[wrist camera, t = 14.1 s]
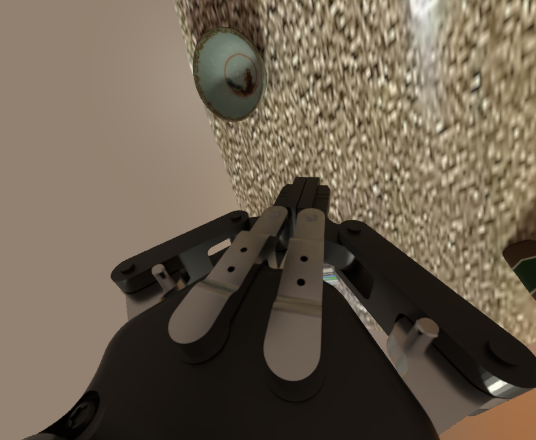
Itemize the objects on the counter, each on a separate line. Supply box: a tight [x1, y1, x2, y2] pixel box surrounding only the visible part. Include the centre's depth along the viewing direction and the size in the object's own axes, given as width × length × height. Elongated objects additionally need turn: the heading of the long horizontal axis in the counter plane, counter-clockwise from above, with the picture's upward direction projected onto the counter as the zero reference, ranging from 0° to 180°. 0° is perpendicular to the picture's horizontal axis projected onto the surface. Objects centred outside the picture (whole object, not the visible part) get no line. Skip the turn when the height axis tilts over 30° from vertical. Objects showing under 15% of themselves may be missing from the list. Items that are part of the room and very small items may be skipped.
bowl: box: [193, 27, 267, 122], centre depth 39 cm, size 14×13×8 cm
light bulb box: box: [323, 262, 340, 284], centre depth 60 cm, size 11×7×11 cm, turn 122°
